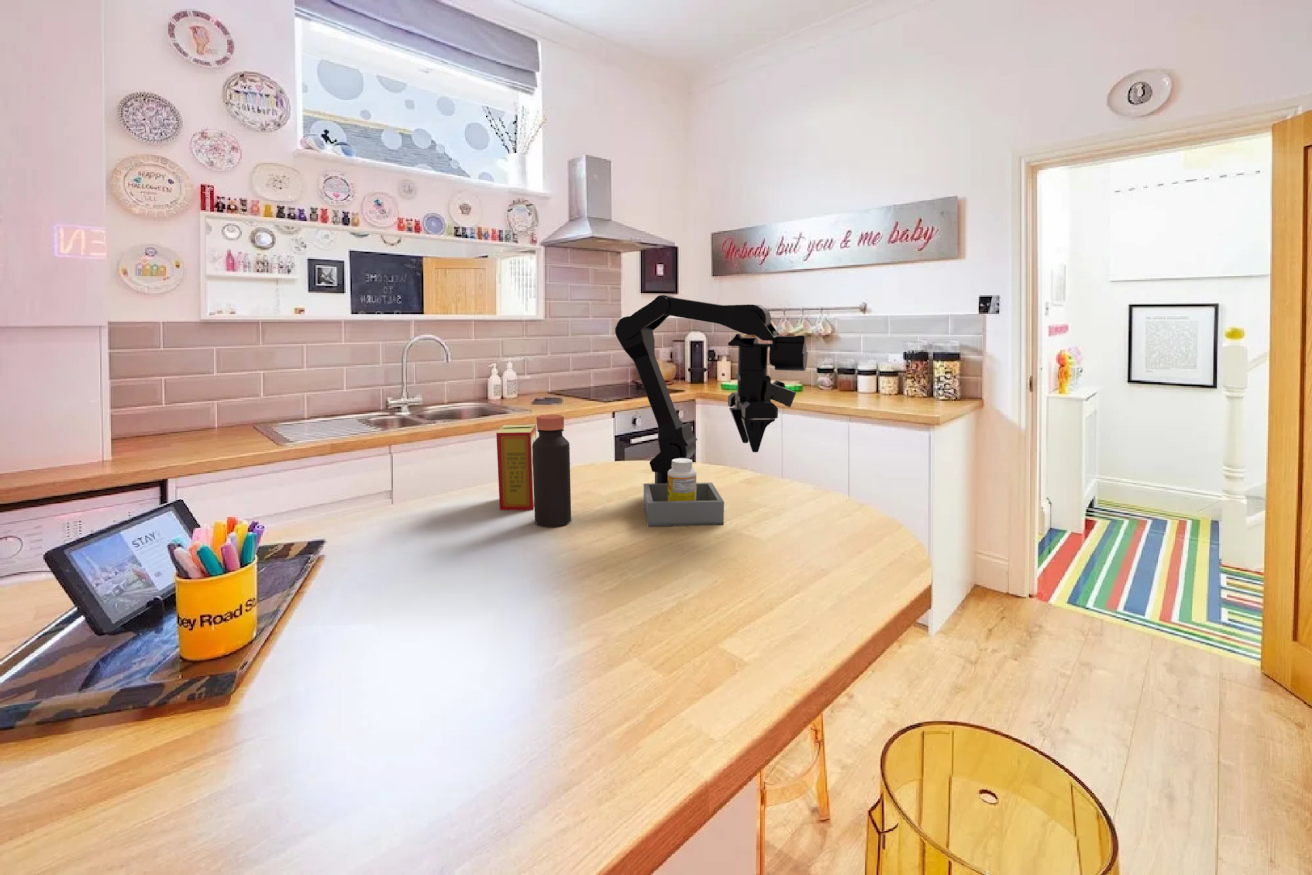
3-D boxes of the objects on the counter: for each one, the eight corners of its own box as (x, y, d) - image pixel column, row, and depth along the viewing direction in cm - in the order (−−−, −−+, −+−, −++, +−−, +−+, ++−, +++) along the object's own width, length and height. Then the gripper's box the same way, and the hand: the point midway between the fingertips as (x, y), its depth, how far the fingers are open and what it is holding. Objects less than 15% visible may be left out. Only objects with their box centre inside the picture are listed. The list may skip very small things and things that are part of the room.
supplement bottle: (672, 506, 130) (673, 456, 128) (699, 509, 128) (700, 458, 127) (663, 514, 125) (663, 462, 123) (691, 517, 123) (691, 464, 121)
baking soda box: (533, 509, 130) (530, 430, 127) (499, 510, 130) (496, 431, 127) (538, 496, 139) (535, 422, 136) (507, 497, 139) (503, 423, 136)
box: (647, 526, 120) (647, 503, 119) (643, 504, 133) (643, 483, 132) (723, 525, 121) (724, 501, 120) (711, 503, 134) (712, 482, 133)
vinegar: (568, 528, 119) (565, 419, 115) (531, 527, 119) (527, 419, 115) (573, 516, 125) (571, 413, 122) (538, 516, 126) (535, 413, 122)
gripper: (806, 373, 120) (803, 456, 123) (780, 365, 138) (777, 438, 141) (746, 374, 119) (744, 457, 122) (728, 365, 137) (726, 438, 140)
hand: (750, 447), depth 131 cm, fingers open, 9 cm apart
